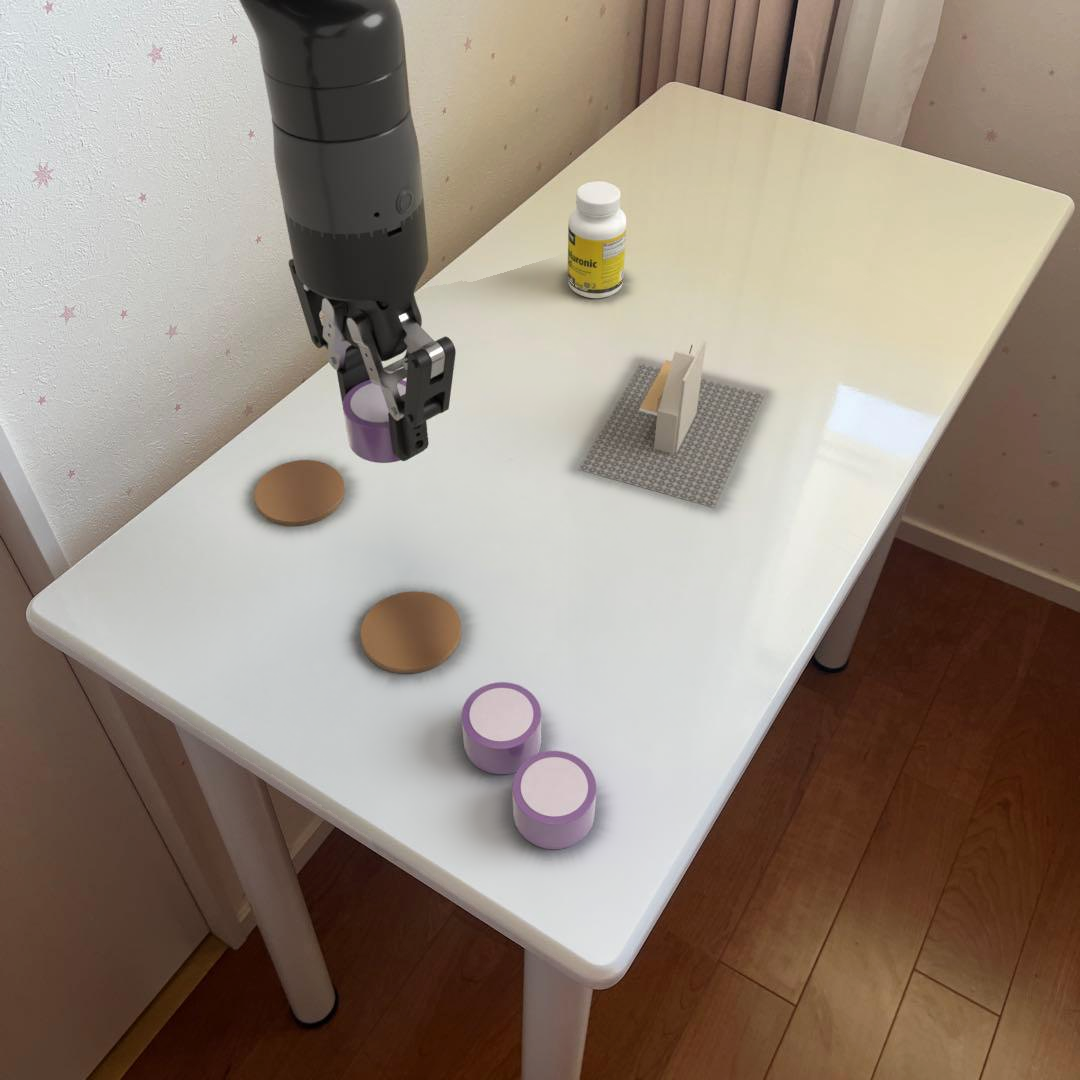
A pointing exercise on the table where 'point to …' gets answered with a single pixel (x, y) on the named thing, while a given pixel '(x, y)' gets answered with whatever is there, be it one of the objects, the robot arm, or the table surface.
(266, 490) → the coaster far
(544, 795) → the purple rimmed puck
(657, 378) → the architectural model
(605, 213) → the supplement bottle
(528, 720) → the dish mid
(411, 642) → the brown wooden coaster
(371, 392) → the purple short cylinder
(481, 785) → the table surface
